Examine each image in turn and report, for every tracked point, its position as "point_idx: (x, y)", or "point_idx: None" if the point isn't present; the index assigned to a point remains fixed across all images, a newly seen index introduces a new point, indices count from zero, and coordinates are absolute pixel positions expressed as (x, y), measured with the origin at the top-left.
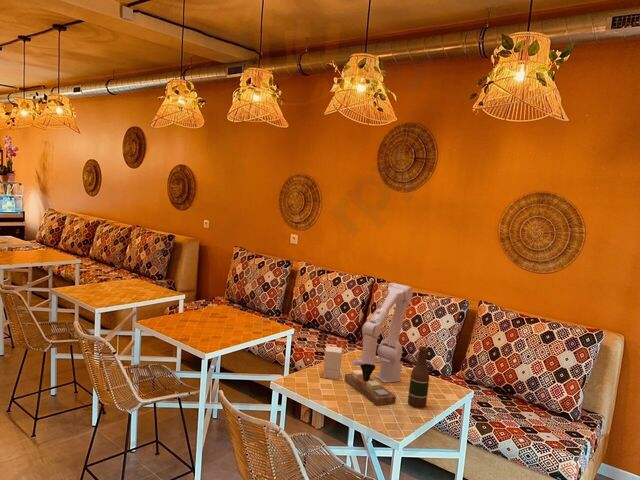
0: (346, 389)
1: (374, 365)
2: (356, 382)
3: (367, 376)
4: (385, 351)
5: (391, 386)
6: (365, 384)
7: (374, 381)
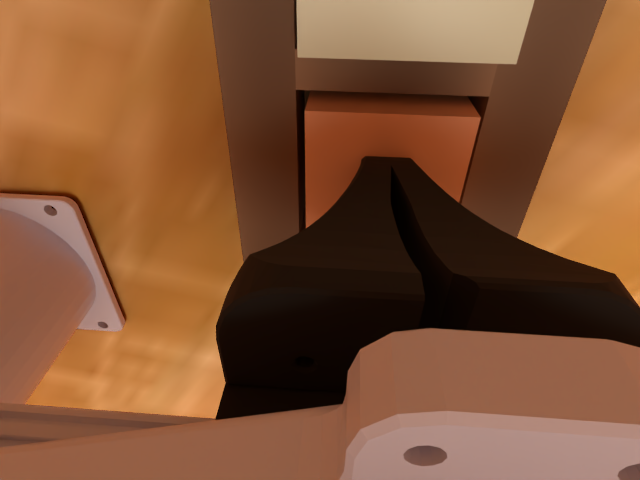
0: (608, 178)
1: (230, 356)
2: (527, 198)
3: (418, 186)
4: None
5: (6, 102)
6: (446, 106)
7: (349, 11)
